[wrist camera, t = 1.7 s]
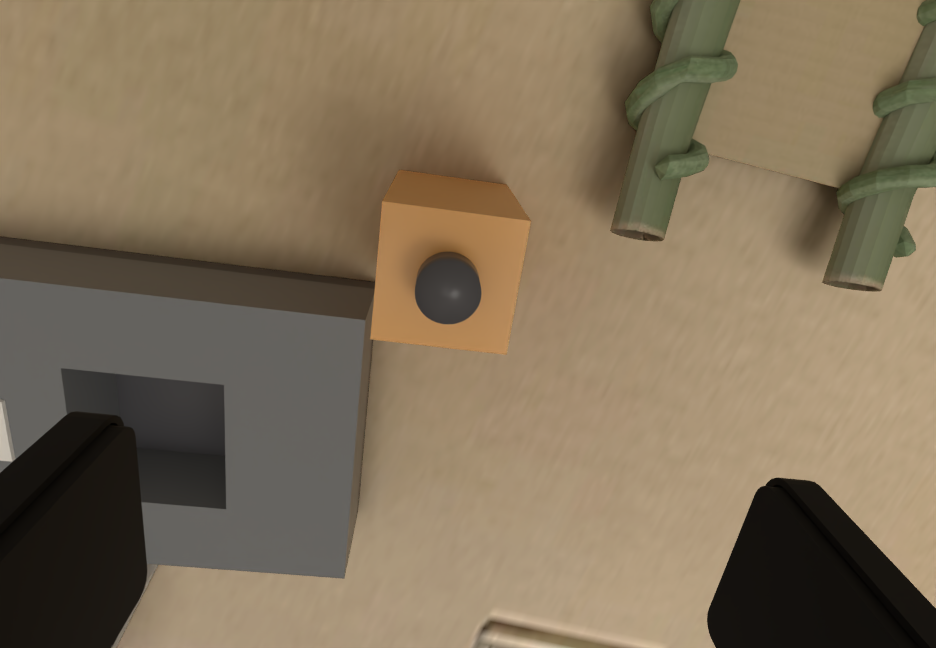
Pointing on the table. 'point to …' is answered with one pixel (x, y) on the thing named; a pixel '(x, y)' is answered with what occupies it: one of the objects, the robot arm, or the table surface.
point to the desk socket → (200, 394)
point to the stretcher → (792, 113)
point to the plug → (448, 263)
